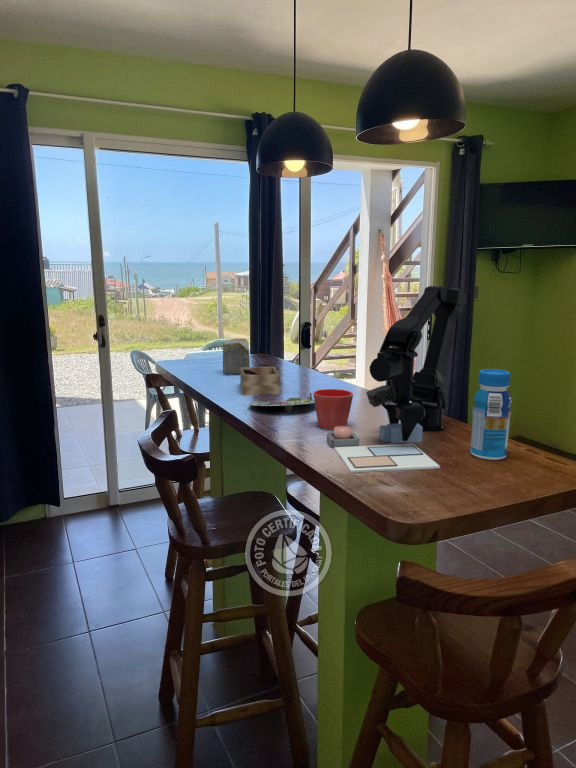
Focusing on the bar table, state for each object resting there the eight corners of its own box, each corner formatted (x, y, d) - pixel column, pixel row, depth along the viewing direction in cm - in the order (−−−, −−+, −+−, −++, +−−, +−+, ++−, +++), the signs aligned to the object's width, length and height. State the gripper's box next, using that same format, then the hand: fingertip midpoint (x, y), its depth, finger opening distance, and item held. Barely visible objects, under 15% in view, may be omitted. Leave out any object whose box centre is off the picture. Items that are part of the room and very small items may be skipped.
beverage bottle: (462, 453, 128) (467, 370, 124) (482, 447, 133) (488, 366, 129) (494, 463, 121) (501, 376, 117) (514, 456, 126) (522, 371, 122)
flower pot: (327, 419, 159) (327, 386, 157) (359, 425, 152) (360, 391, 150) (305, 426, 151) (305, 392, 149) (337, 434, 144) (338, 398, 142)
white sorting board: (413, 445, 134) (413, 442, 134) (439, 468, 118) (440, 465, 118) (334, 449, 131) (334, 446, 131) (350, 472, 116) (350, 469, 116)
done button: (348, 436, 138) (349, 425, 137) (353, 442, 133) (353, 430, 133) (332, 437, 137) (332, 426, 137) (335, 442, 133) (336, 431, 132)
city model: (308, 403, 188) (307, 385, 188) (336, 410, 166) (335, 390, 166) (238, 410, 180) (237, 392, 179) (259, 419, 158) (257, 398, 157)
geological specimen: (224, 376, 225) (223, 340, 222) (222, 373, 231) (221, 338, 228) (250, 374, 228) (249, 339, 225) (247, 372, 234) (246, 337, 231)
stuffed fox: (238, 375, 190) (231, 367, 201) (255, 399, 194) (247, 390, 205) (255, 362, 191) (247, 355, 202) (272, 387, 195) (263, 378, 206)
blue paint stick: (416, 437, 141) (416, 422, 140) (421, 442, 137) (422, 427, 137) (379, 438, 140) (379, 424, 139) (383, 443, 136) (384, 428, 135)
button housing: (352, 439, 139) (352, 431, 139) (359, 447, 133) (359, 439, 132) (325, 440, 138) (326, 432, 138) (331, 448, 132) (331, 440, 131)
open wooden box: (274, 384, 208) (274, 366, 206) (279, 394, 191) (279, 374, 190) (240, 385, 206) (240, 367, 204) (243, 395, 189) (242, 375, 188)
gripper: (360, 370, 143) (358, 427, 146) (381, 384, 125) (379, 448, 128) (400, 369, 145) (398, 425, 148) (427, 382, 127) (424, 446, 130)
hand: (398, 435), depth 138 cm, fingers open, 8 cm apart
